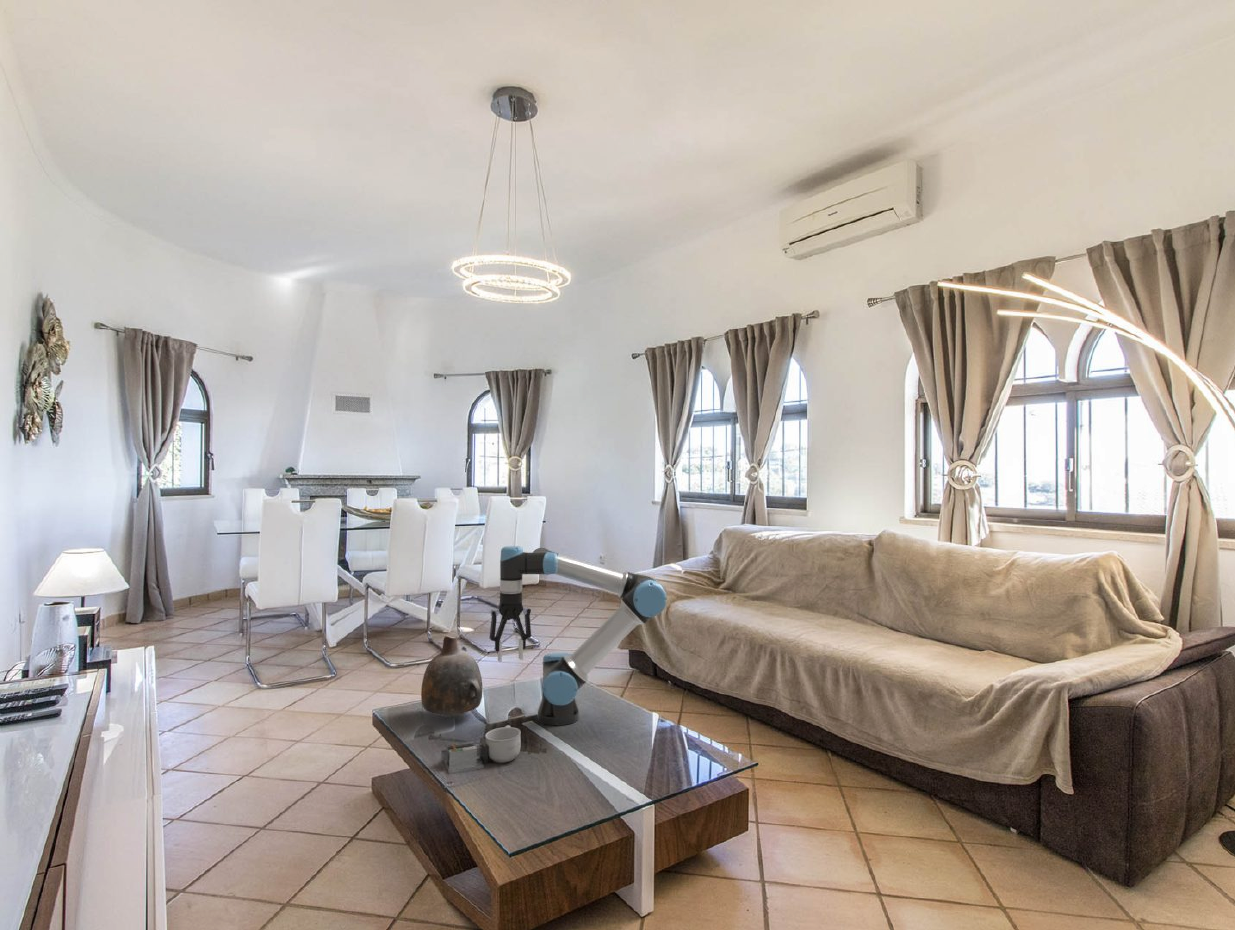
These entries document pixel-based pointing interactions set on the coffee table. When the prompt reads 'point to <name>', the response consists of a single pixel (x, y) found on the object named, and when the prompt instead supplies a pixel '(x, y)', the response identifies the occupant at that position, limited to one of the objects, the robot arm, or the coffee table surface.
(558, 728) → the coffee table surface
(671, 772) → the coffee table surface
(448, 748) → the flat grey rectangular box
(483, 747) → the hammer
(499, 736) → the teacup
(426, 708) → the jug
